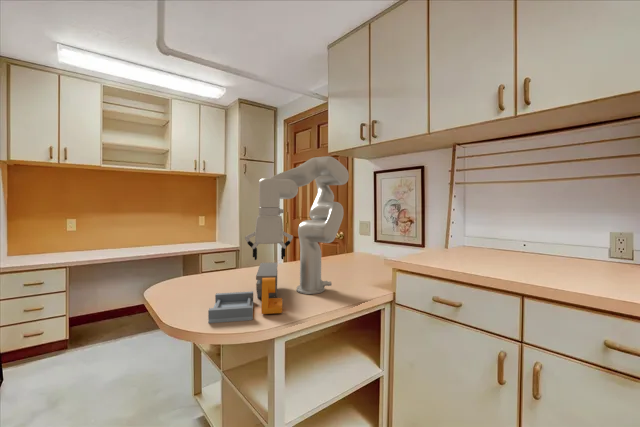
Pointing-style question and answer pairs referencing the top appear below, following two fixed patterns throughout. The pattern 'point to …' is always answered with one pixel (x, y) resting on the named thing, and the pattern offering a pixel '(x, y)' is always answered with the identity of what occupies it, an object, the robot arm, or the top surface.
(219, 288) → the top surface
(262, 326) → the top surface
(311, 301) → the top surface
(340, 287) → the top surface
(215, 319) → the grey tray
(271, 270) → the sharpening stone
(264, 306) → the bracket
